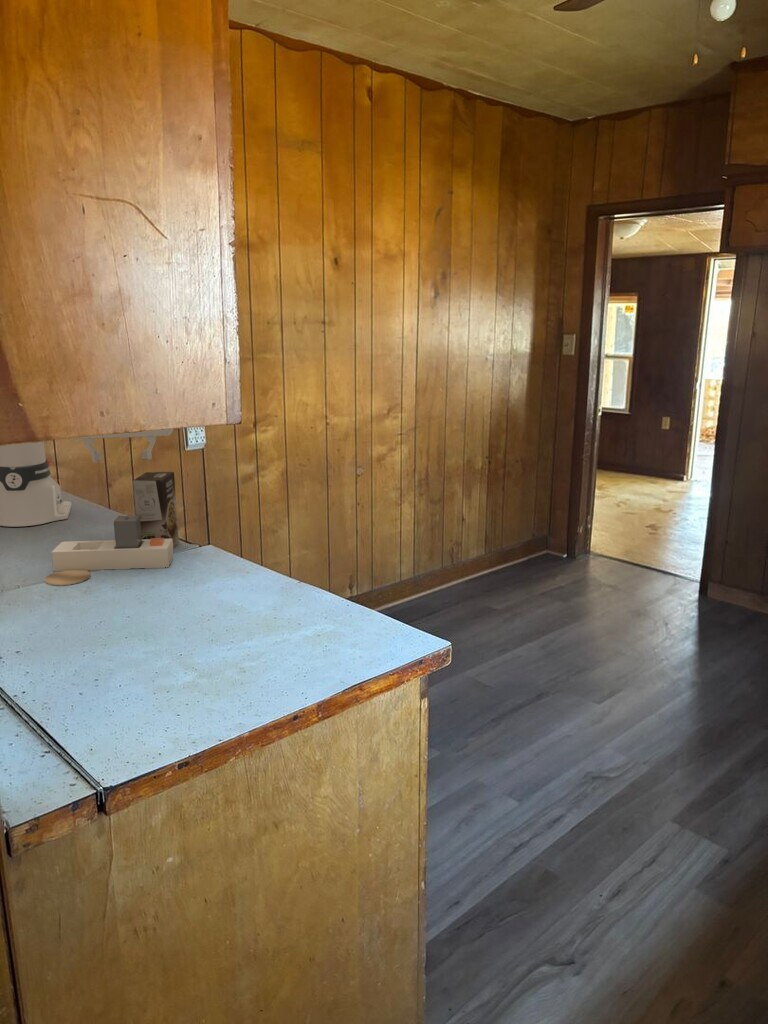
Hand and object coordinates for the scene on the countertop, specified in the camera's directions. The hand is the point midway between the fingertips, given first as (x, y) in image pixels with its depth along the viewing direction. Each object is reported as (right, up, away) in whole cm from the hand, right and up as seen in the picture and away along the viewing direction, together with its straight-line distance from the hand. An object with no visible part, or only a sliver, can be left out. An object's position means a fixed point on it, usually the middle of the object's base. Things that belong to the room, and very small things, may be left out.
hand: (122, 460), depth 147 cm
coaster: (-9, -23, -3) cm, 25 cm away
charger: (0, -18, +5) cm, 19 cm away
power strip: (-3, -21, +5) cm, 22 cm away
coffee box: (+3, -18, +16) cm, 24 cm away
